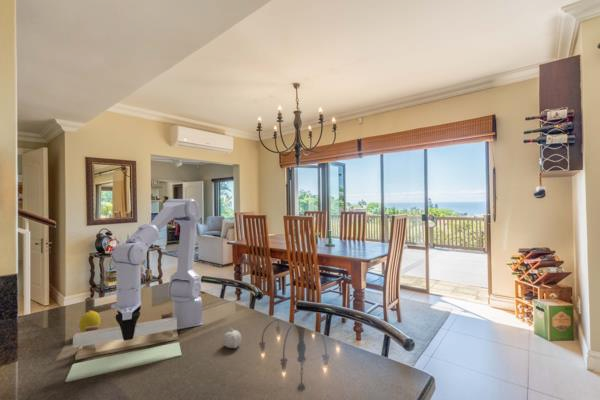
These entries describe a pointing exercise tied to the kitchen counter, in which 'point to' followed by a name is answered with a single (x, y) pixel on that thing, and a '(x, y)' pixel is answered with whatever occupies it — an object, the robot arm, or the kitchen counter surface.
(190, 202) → the robot arm
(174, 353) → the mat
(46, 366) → the kitchen counter surface
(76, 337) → the rail
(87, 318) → the lemon
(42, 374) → the kitchen counter surface
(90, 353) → the rack
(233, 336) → the garlic
